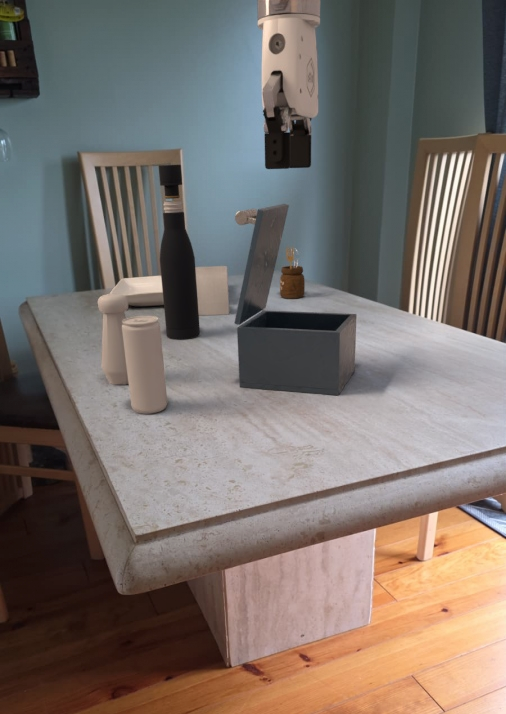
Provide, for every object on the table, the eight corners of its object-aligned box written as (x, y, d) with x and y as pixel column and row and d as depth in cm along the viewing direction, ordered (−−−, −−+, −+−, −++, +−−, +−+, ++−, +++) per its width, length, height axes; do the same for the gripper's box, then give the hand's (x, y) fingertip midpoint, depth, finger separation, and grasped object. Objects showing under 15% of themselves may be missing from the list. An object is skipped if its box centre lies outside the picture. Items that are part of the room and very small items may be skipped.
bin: (354, 371, 96) (356, 313, 92) (338, 395, 86) (339, 332, 82) (264, 364, 100) (263, 310, 97) (239, 387, 90) (236, 327, 87)
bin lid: (289, 204, 89) (258, 196, 90) (263, 210, 79) (229, 200, 80) (265, 308, 96) (237, 299, 97) (239, 325, 87) (208, 314, 87)
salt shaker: (142, 373, 98) (132, 290, 93) (142, 384, 93) (132, 297, 88) (104, 376, 97) (92, 292, 92) (102, 388, 92) (90, 299, 87)
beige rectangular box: (228, 314, 136) (226, 267, 132) (198, 315, 136) (194, 268, 132) (229, 310, 140) (227, 264, 135) (199, 312, 140) (196, 266, 135)
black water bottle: (172, 341, 116) (156, 165, 104) (162, 334, 122) (146, 165, 109) (204, 336, 119) (193, 164, 106) (193, 329, 124) (181, 164, 112)
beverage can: (167, 413, 82) (158, 323, 77) (130, 416, 81) (118, 325, 76) (168, 401, 86) (160, 314, 81) (133, 403, 86) (123, 316, 81)
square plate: (226, 305, 145) (226, 288, 143) (108, 311, 143) (106, 294, 142) (223, 286, 169) (223, 271, 168) (123, 290, 168) (121, 276, 166)
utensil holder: (306, 294, 154) (306, 244, 149) (302, 299, 149) (302, 247, 144) (282, 294, 155) (282, 244, 150) (278, 299, 150) (277, 247, 145)
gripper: (299, -9, 66) (298, 168, 73) (335, 21, 81) (332, 166, 88) (233, -1, 68) (239, 170, 75) (280, 27, 83) (281, 168, 90)
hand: (289, 168), depth 82 cm, fingers open, 9 cm apart
